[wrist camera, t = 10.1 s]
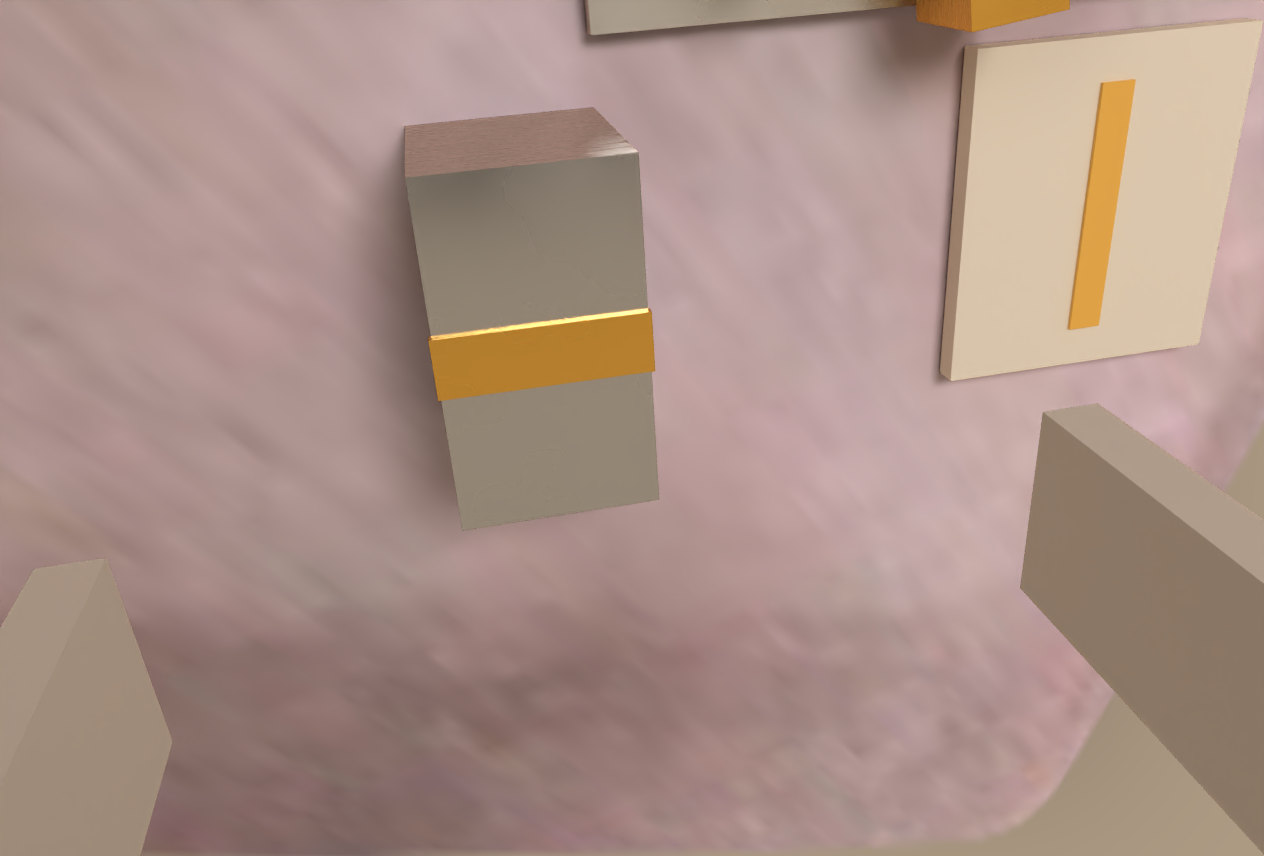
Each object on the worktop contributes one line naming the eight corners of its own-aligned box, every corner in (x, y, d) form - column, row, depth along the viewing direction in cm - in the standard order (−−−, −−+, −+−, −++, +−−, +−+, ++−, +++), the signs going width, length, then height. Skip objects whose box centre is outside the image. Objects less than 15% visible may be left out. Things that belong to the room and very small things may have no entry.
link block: (450, 422, 25) (460, 533, 20) (402, 125, 22) (401, 179, 17) (617, 398, 25) (662, 501, 21) (594, 105, 22) (643, 153, 18)
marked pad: (939, 372, 27) (952, 382, 26) (964, 46, 23) (980, 49, 22) (1183, 336, 28) (1201, 345, 27) (1244, 18, 24) (1266, 20, 23)
